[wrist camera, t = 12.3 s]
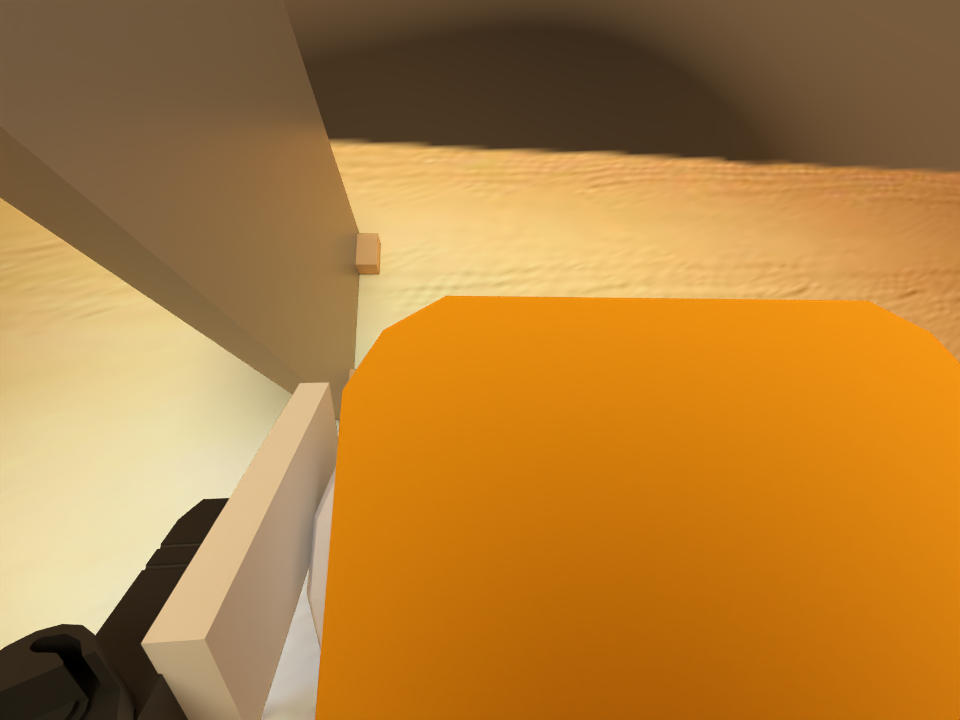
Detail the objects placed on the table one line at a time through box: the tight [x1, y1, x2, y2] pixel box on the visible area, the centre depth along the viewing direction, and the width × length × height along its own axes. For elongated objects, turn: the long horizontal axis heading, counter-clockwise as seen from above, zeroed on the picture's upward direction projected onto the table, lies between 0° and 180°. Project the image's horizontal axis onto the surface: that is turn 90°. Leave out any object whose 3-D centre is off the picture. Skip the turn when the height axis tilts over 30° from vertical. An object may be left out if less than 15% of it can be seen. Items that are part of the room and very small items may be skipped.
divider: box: [0, 0, 381, 419], centre depth 21 cm, size 5×16×27 cm, turn 2°
